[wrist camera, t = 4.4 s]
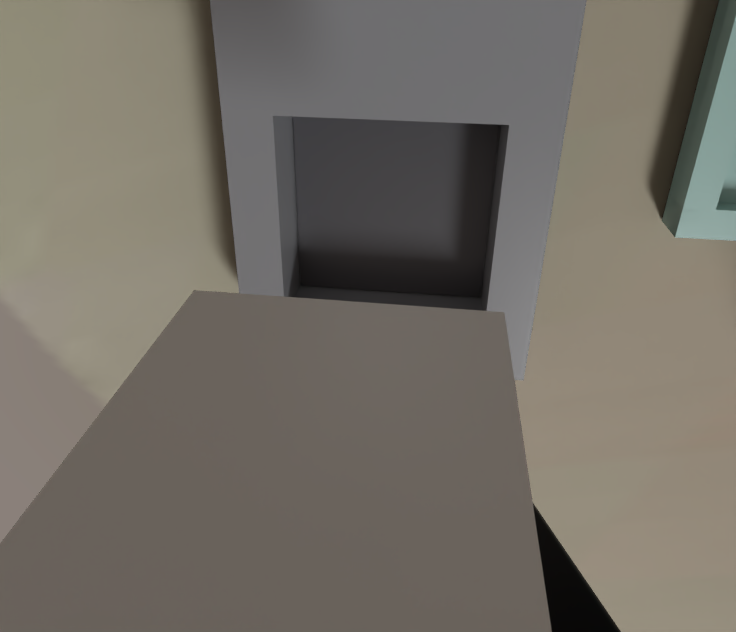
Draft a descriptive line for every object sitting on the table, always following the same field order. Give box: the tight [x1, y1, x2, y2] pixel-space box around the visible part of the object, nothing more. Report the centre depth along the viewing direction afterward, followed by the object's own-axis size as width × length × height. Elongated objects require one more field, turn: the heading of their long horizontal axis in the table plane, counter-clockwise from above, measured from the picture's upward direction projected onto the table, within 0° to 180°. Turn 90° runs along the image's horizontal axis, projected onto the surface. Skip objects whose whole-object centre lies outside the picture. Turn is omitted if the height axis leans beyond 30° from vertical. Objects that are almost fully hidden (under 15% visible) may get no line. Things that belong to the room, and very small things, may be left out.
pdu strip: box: [210, 0, 586, 380], centre depth 14 cm, size 18×8×3 cm, turn 179°
